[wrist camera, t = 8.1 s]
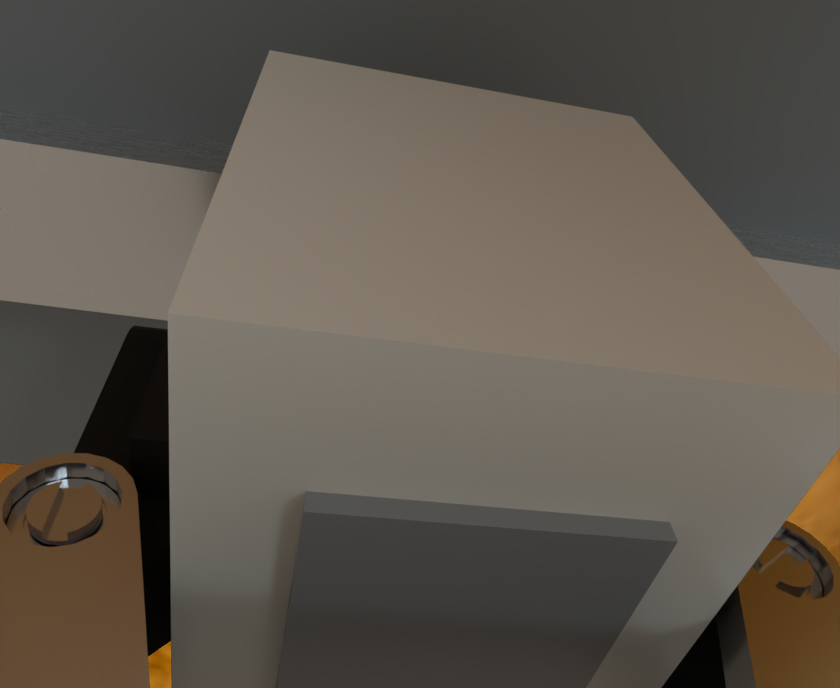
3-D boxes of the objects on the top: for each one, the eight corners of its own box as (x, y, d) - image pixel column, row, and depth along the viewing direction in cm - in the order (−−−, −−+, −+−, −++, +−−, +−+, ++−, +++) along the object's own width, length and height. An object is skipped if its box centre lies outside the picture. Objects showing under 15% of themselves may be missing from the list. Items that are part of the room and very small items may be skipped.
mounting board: (1047, -64, 12) (1118, -50, 11) (703, 484, 21) (724, 526, 19) (-266, -397, 9) (-361, -425, 8) (-57, 409, 17) (-89, 455, 16)
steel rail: (866, 247, 14) (902, 279, 13) (791, 364, 16) (818, 400, 15) (-136, 84, 11) (-182, 110, 10) (-94, 249, 13) (-131, 284, 12)
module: (632, 116, 10) (891, 417, 5) (490, 499, 15) (553, 852, 10) (270, 50, 9) (161, 332, 4) (239, 477, 14) (170, 851, 9)
